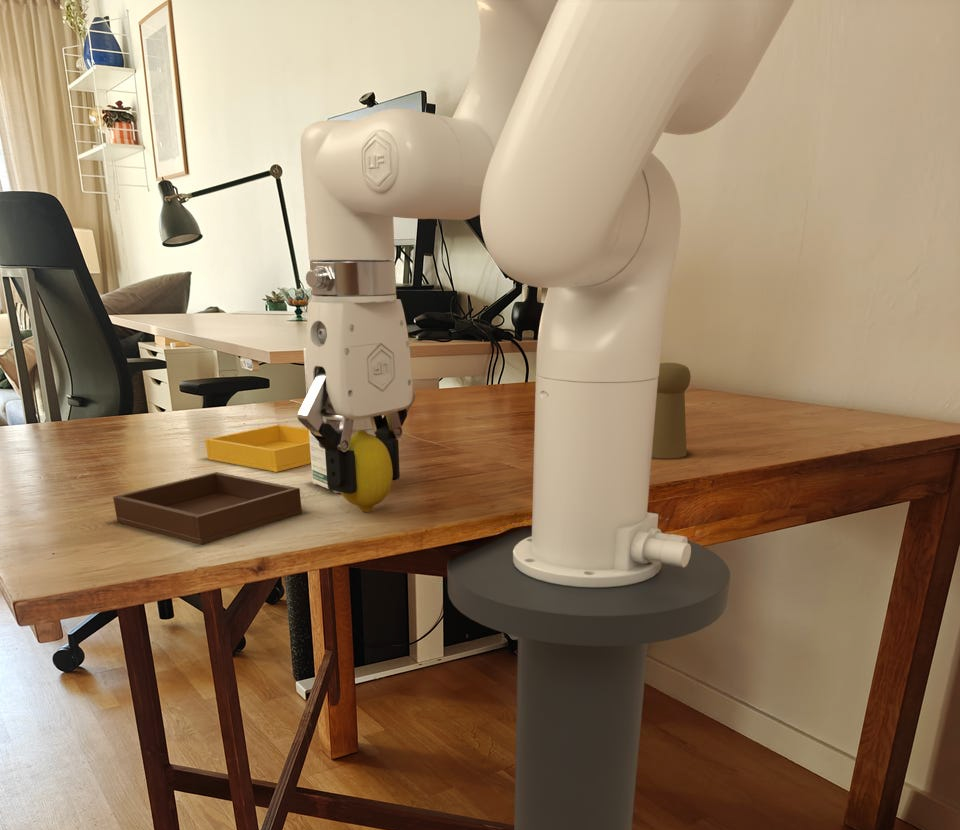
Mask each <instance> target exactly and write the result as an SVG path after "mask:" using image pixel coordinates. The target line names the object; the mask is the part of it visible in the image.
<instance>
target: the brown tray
mask: <svg viewBox="0 0 960 830" xmlns="http://www.w3.org/2000/svg"><path fill="white" fill-rule="evenodd" d="M300 489H301V488H300V487H295V486H289V485H285V484H280V483H276V482H275V483H274V482H270V481H265V480H260V479H254V478H249V477H245V476H239V475H235V474H234V475H233V474H228V473H223V472H220V471H219V472H218V471H214V472H209V473H205V474H202V475H197V476H192V477H189V478H185V479H181V480H176V481H173V482H168V483H164V484H160V485H156V486H151V487H147V488H143V489H139V490H135V491H130V492H127V493H123V494H119V495H113V496H112V499H113V500H112V501H113V506H114V510H115V516H116V521H117V523H119V524H123V525H127V526H131V527H134V528H137V529H141V530H145V531H149V532H153V533H156V534H160V535H163V536H164V535H165V536H168V537H171V538H176V539H180V540H182V541H187V542H191V543H195V544H199V545H205V544H208V543H211V542H214V541H218V540H220V539H223V538H227V537H230V536H233V535H236V534H240V533H243V532H246V531H249V530H252V529H255V528H259V527H262V526H265V525H269V524H271V523H275V522H278V521H281V520H284V519H288V518H291V517H294V516H296V515H300V514H302V511H303V510H302V499H301V490H300Z"/></svg>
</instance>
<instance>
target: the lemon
mask: <svg viewBox="0 0 960 830" xmlns="http://www.w3.org/2000/svg"><path fill="white" fill-rule="evenodd" d="M348 450H353V451H354V454H355V468H356V485H357V490H356V492H355V493H352V494H348V493H343V492H340V493H339V494H340V495H341V496H342V497H343V498H344V499H345V500H346V501H347V502H348V503H350V504H351V505H354V506H356V507H358V508H359V509H360V510H361V511H362V512H364V513H368V512H370V511H371V510H372V509H373V508H374V506H376V505H378V504H380V503H381V502H383V501H384V499H386V498H387V496H388V495H389V493H390V491H391V488H392V484H393V480H392V477H393V469H392V462H391V458H390V455H389V452H388V450H387V448H386V446H385V445H384V444H383V443H382V442H381V441H380V440H379V439H378V438H376V437H375V436H373V435H370V434H368V433H367V432H366V431H365V430H359V431H358V432H357V433H356V434H355V435H352V436H351V439H350V445H349V449H348Z"/></svg>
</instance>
